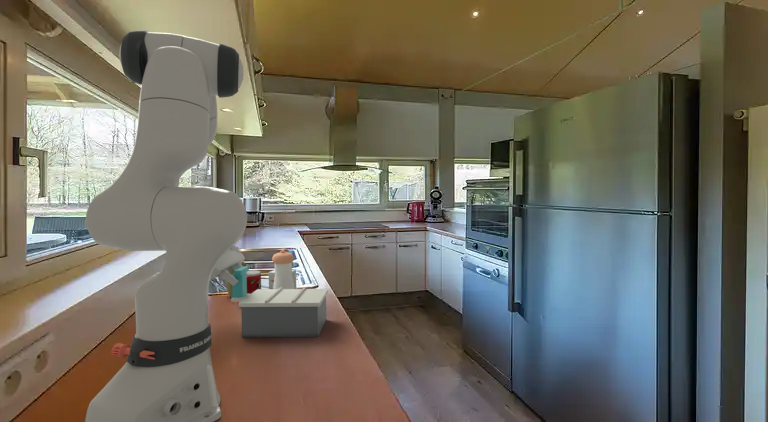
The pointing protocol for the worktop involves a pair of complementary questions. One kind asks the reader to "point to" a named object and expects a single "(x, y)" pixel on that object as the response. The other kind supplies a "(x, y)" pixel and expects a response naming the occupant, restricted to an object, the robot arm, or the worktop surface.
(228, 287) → the squeeze bottle
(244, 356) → the worktop surface
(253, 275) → the canned food
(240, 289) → the lid
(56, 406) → the worktop surface
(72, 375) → the worktop surface
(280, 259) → the pepper shaker
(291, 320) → the tub
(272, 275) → the small box
